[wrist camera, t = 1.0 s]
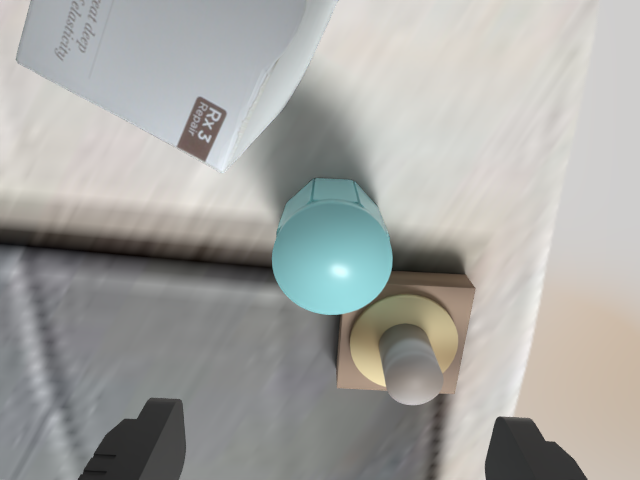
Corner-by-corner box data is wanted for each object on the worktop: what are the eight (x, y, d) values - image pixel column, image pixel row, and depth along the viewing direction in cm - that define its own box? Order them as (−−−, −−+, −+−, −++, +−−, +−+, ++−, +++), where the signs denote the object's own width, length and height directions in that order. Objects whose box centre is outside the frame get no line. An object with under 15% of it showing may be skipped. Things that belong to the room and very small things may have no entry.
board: (343, 268, 28) (347, 315, 22) (465, 274, 28) (500, 323, 22) (336, 369, 31) (338, 433, 25) (446, 374, 31) (473, 440, 25)
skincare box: (254, -88, 21) (110, -417, 7) (357, -19, 22) (408, -190, 8) (187, 70, 24) (-14, 54, 10) (282, 125, 25) (222, 182, 11)
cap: (284, 174, 26) (272, 200, 20) (383, 179, 26) (398, 207, 20) (282, 265, 28) (271, 311, 22) (374, 269, 28) (386, 317, 22)
